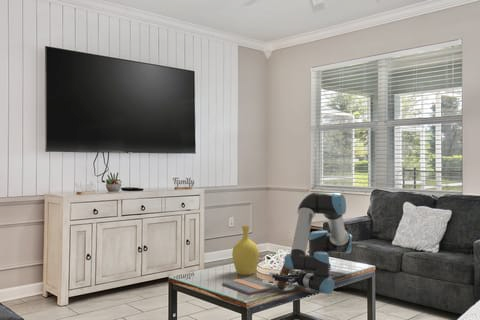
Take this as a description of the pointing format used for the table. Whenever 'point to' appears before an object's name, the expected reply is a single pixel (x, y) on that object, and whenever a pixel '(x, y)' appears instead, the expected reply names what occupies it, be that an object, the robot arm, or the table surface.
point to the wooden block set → (283, 272)
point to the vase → (245, 254)
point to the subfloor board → (249, 286)
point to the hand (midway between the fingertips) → (279, 272)
